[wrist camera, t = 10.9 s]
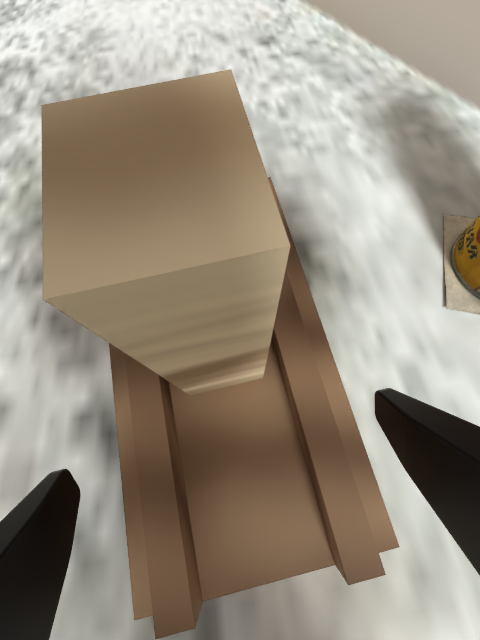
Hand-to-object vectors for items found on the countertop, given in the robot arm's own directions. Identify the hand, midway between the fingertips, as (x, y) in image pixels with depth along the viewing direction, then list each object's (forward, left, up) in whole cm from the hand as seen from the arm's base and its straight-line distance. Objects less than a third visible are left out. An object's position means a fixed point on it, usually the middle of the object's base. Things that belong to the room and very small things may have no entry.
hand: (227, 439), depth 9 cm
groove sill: (+3, -4, -9) cm, 10 cm away
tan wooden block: (+3, -4, -7) cm, 9 cm away
